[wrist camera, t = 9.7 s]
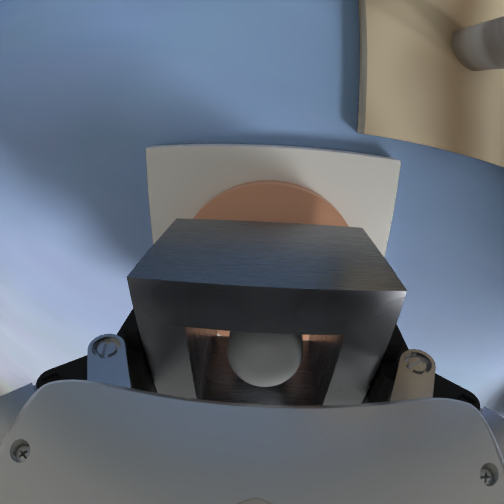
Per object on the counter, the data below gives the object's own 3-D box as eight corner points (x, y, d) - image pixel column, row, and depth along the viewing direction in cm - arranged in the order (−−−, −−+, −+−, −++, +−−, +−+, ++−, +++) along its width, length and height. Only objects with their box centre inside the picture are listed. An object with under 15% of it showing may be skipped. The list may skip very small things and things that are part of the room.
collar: (362, 227, 11) (406, 290, 7) (331, 360, 14) (344, 435, 10) (176, 218, 11) (126, 276, 7) (191, 353, 14) (169, 425, 10)
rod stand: (512, 11, 7) (576, 1, 1) (517, 171, 12) (589, 206, 6) (352, -58, 8) (387, -122, 1) (357, 132, 13) (422, 146, 7)
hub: (391, 157, 13) (497, 206, 6) (352, 342, 18) (379, 449, 11) (155, 145, 14) (46, 182, 6) (174, 332, 19) (134, 435, 11)
